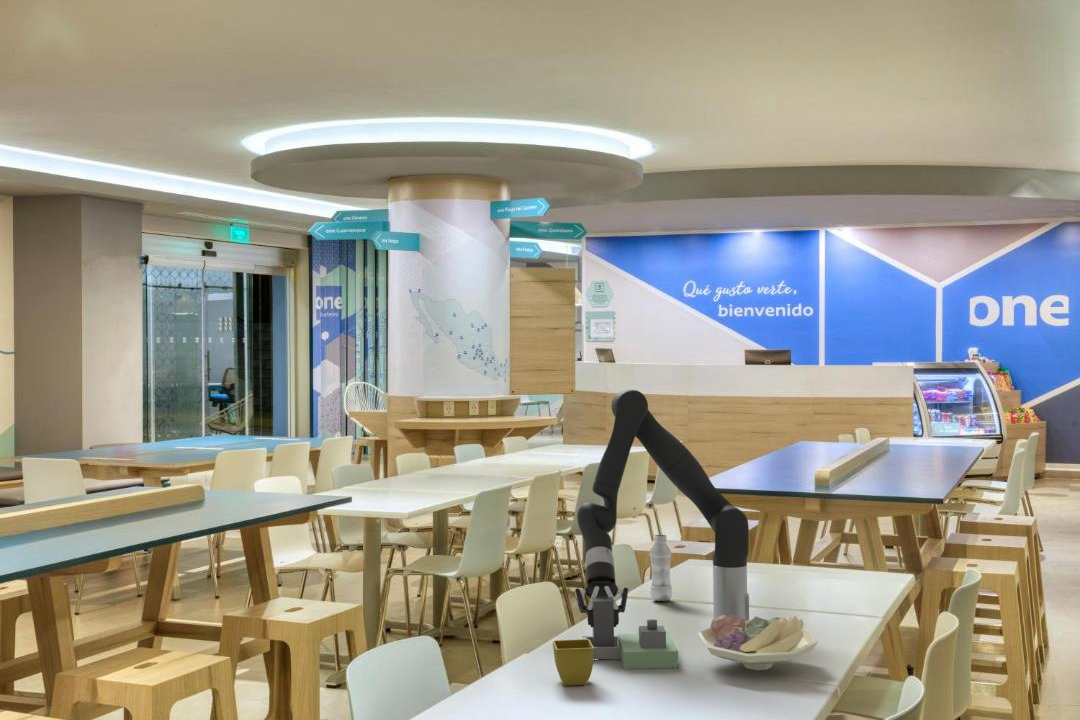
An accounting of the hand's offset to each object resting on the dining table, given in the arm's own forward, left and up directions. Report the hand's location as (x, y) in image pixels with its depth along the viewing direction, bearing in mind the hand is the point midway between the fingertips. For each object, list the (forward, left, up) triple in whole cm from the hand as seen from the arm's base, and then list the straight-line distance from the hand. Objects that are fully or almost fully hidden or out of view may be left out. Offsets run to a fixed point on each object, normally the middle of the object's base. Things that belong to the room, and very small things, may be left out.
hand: (603, 625), depth 282 cm
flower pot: (+9, +23, -8) cm, 26 cm away
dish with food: (-36, +13, -8) cm, 39 cm away
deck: (-6, +2, -8) cm, 10 cm away
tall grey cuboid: (0, -2, -6) cm, 6 cm away
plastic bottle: (-21, -62, -8) cm, 66 cm away
